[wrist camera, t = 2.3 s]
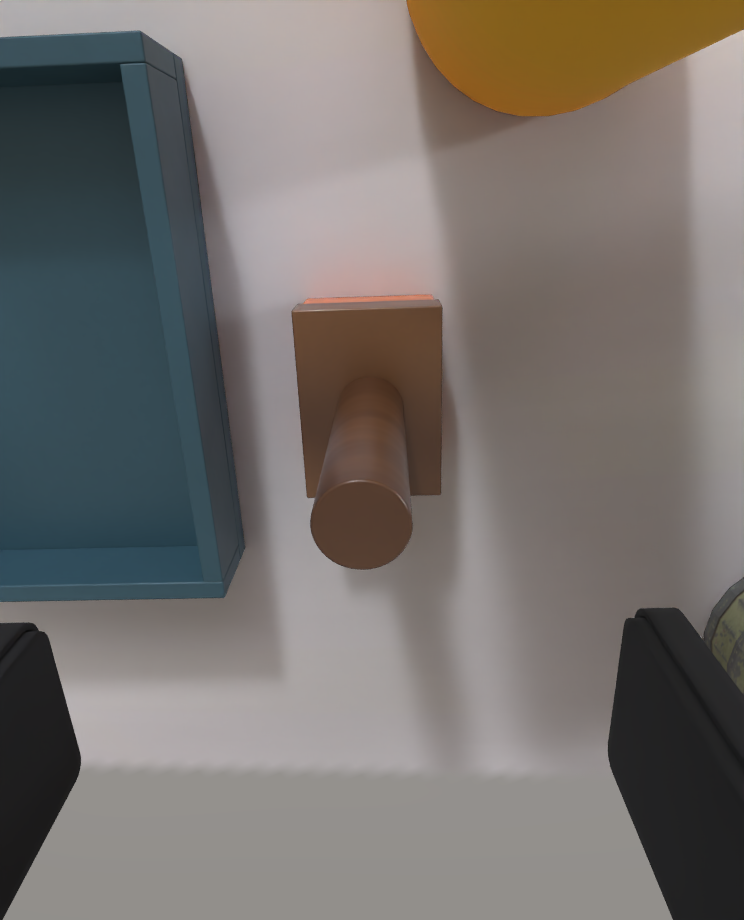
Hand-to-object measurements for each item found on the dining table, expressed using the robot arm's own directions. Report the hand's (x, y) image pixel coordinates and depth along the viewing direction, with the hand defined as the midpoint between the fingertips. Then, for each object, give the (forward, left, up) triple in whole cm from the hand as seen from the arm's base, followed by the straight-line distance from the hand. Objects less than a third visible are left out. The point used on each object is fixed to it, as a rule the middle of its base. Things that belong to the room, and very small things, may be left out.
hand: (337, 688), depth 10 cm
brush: (0, 0, -17) cm, 17 cm away
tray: (-2, -13, -17) cm, 22 cm away
